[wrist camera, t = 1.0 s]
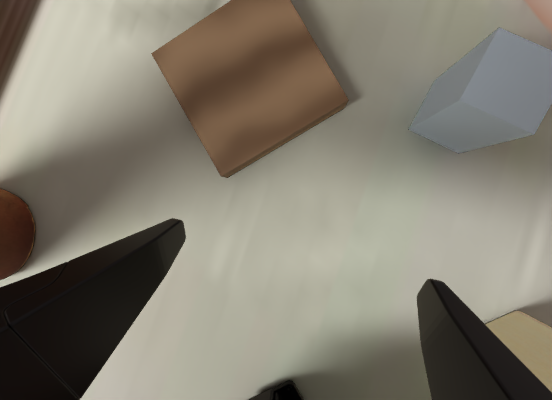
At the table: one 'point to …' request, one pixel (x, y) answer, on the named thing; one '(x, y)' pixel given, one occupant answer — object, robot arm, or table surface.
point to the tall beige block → (527, 342)
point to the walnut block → (249, 80)
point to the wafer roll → (14, 233)
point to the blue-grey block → (488, 95)
